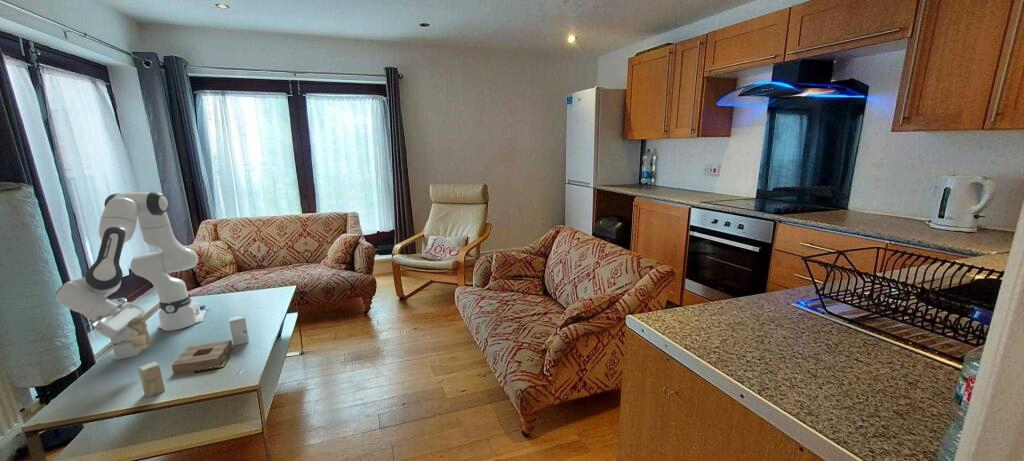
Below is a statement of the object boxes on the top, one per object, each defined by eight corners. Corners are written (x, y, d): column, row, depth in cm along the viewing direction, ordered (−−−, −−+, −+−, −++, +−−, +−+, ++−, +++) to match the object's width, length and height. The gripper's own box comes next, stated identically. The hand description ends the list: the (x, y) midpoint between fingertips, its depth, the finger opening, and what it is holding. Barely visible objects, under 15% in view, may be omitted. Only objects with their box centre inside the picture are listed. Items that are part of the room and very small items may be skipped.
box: (148, 397, 150) (141, 370, 147) (144, 394, 152) (136, 367, 149) (166, 390, 154) (159, 363, 151) (161, 386, 156) (154, 360, 154)
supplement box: (115, 360, 176) (108, 334, 173) (121, 353, 183) (114, 327, 180) (137, 356, 180) (130, 329, 177) (143, 348, 186) (136, 323, 183)
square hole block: (191, 354, 179) (189, 346, 178) (233, 348, 184) (231, 339, 183) (173, 374, 164) (171, 365, 163) (219, 366, 169) (217, 357, 168)
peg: (139, 344, 168) (131, 317, 165) (151, 343, 169) (144, 316, 166) (132, 350, 164) (125, 322, 161) (146, 348, 165) (138, 321, 162)
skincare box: (233, 346, 185) (228, 321, 183) (234, 342, 189) (228, 317, 186) (249, 342, 188) (244, 318, 186) (249, 338, 192) (244, 314, 189)
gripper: (93, 317, 150) (132, 336, 155) (126, 296, 169) (159, 314, 174) (81, 330, 150) (121, 349, 155) (115, 307, 169) (149, 325, 174)
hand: (141, 330), depth 165 cm, fingers closed on peg, 4 cm apart
